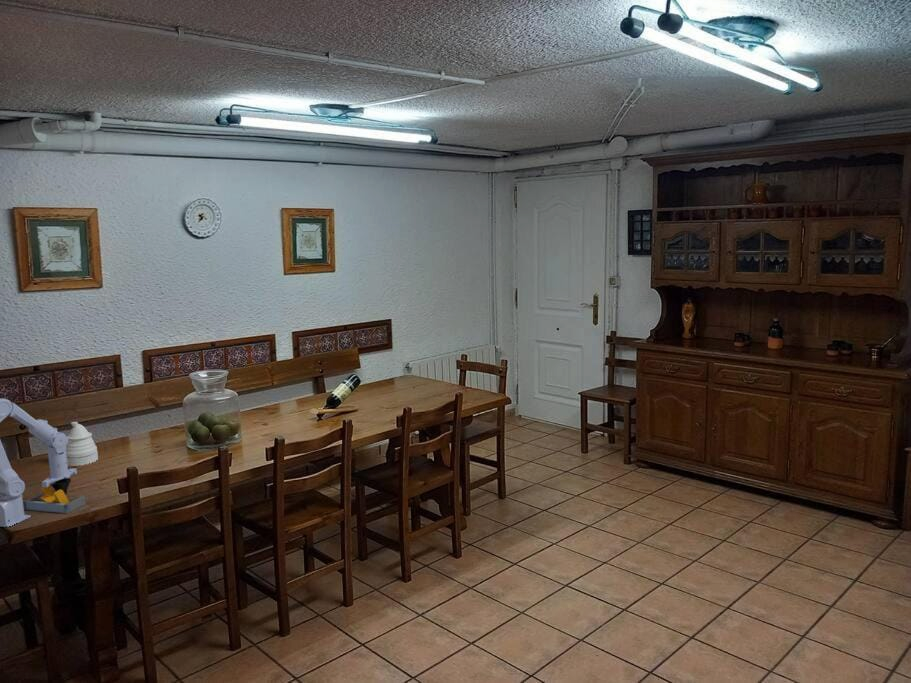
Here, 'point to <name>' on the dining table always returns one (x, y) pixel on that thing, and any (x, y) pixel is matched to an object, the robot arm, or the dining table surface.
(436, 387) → the dining table surface
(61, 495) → the pipe clamp
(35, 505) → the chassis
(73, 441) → the honey pot
